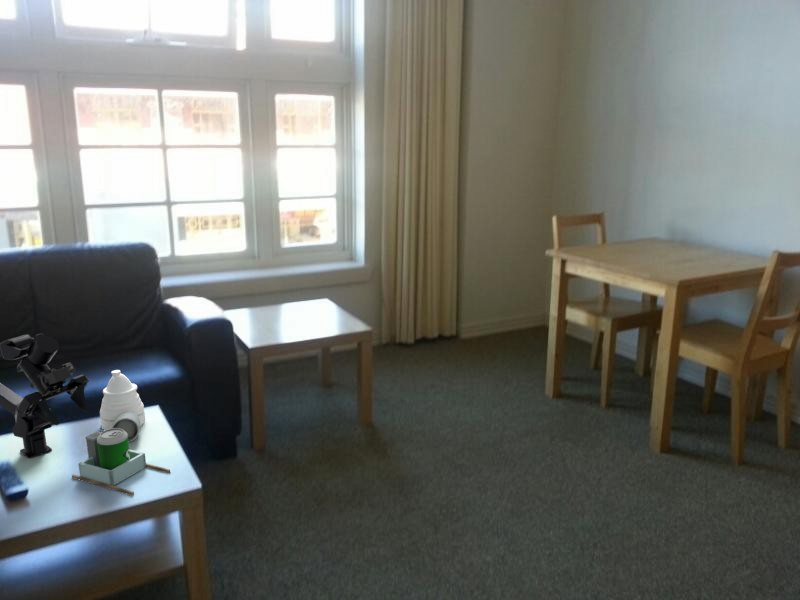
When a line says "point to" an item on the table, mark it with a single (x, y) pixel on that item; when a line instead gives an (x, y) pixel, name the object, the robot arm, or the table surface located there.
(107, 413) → the honey pot
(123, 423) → the ceramic mug
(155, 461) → the table surface
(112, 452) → the soda can
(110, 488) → the track
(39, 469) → the table surface
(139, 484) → the table surface
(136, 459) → the pale green open tray
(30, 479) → the table surface
